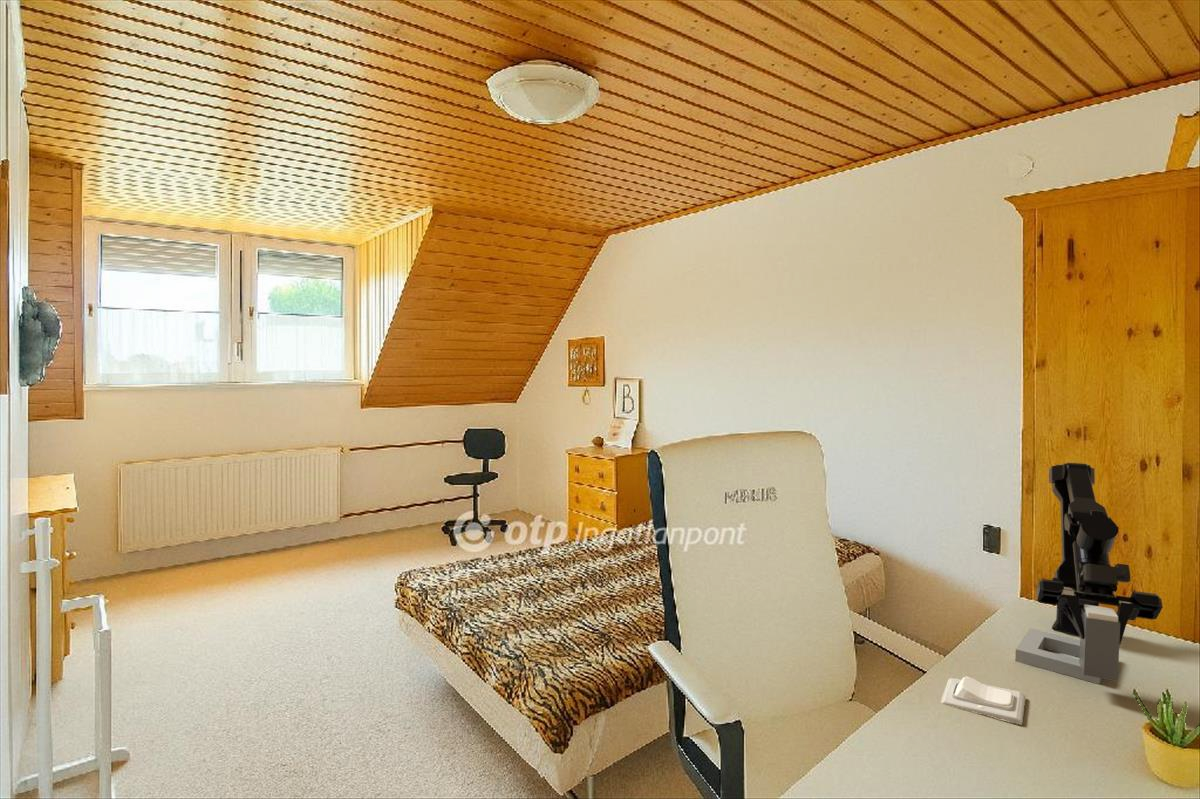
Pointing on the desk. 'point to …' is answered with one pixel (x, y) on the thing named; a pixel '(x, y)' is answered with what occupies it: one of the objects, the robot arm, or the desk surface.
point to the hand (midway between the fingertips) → (1100, 641)
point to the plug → (1100, 642)
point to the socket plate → (1036, 656)
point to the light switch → (985, 699)
